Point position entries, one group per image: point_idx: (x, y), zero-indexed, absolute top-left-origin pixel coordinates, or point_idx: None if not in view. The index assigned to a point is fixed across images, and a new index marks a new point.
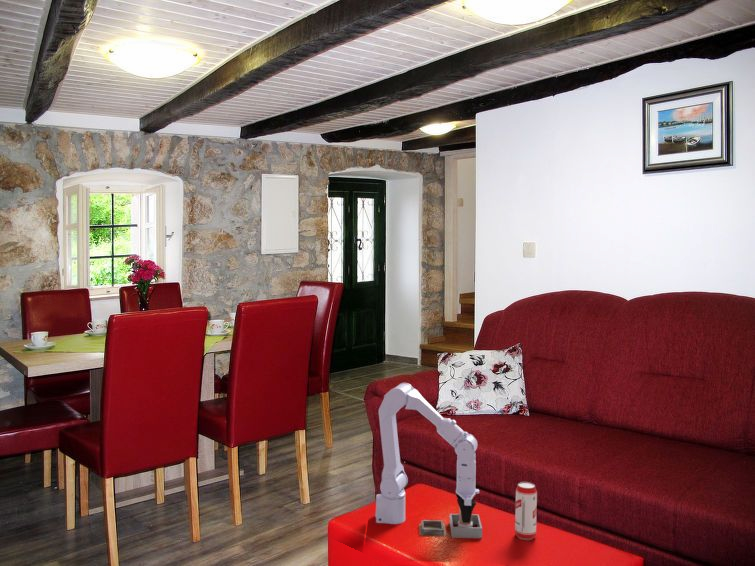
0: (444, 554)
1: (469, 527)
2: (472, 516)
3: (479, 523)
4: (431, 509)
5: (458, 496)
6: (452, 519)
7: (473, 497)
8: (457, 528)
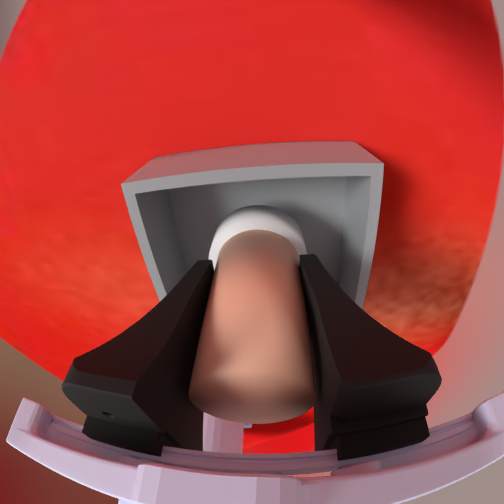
0: (442, 298)
1: (366, 249)
2: (147, 220)
3: (296, 176)
4: (78, 332)
5: (198, 443)
6: None
7: (147, 367)
8: (362, 305)
